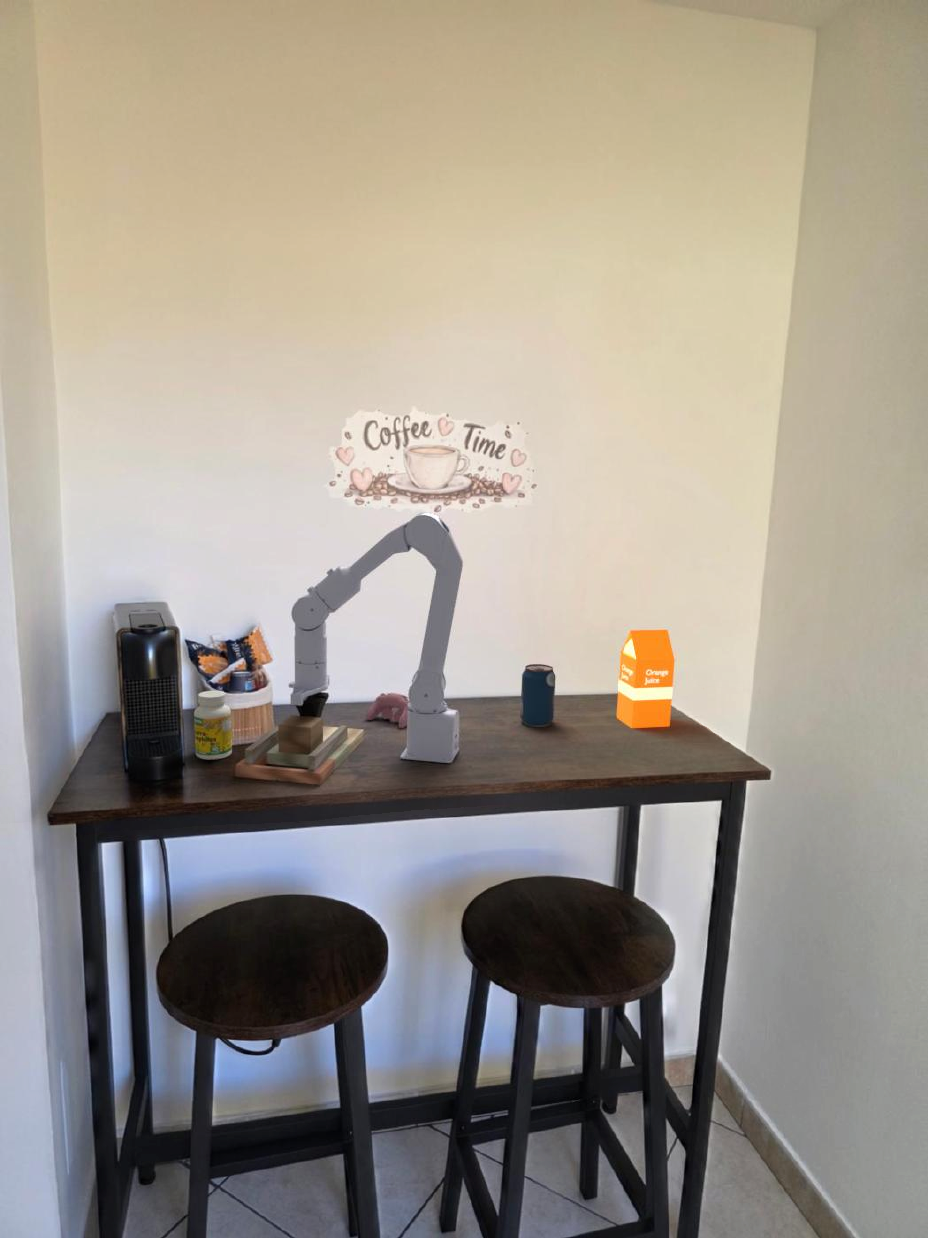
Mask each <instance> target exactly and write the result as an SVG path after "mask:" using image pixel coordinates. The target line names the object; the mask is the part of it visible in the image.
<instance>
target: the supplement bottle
mask: <svg viewBox="0 0 928 1238" xmlns="http://www.w3.org/2000/svg"><path fill="white" fill-rule="evenodd" d="M226 701H227V698H226V692H224V691H222V690H206V691H201V692H199V693H198V694H197V702H198V706H197V707H196V708H195V710H194V712H193V719H194V720H193V723H194V726H193V727H194V744H195V745H194V747H195V755H196V756H197V758H198V759H202V760H207V761H208V760H209V761H211V760H221V759H225V758H228V757H229V756H230V755H231V754H232V753H233V741H232V740H233V735H232V710H231V707H229V705H226Z"/></svg>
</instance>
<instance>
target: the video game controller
mask: <svg viewBox="0 0 928 1238" xmlns="http://www.w3.org/2000/svg"><path fill="white" fill-rule="evenodd" d="M408 703H410V701H409V697H408V696H405V694H404V695H403V694H401V693H397V692H396V693H395V692H390V693H384V692H382V693H380V695H378V696H377V697H376V699H375V700H374V701H373V703H372V704H371V706H369V708H368V709H367V712H366V721H368V720H371V721H373V720H374V719H375V718H376V717H378V715H380V714H381V717H382V719H384V720H386V719H390V720H392V719H393V720H394V721H395V722H396V723H398V728H399V729H404V728H406V727H407V709H408ZM393 709H398V710H396V711H395V713H394V710H393Z"/></svg>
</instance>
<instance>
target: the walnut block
mask: <svg viewBox="0 0 928 1238" xmlns="http://www.w3.org/2000/svg"><path fill="white" fill-rule="evenodd" d="M277 725H278V735H279V752H283V753H294V754H304V755H310V754H311V753H312V752H313V751H314V750H315V749H316V748H317V747H318V746H319V745H320V744H322V743H323V726H324V718H323V717H321V718H320V717H308V716H300V715H298V714H297V715H293V714H291V715H289V716H288V717H287V718H286V719H284V720H283V721H281V722H280V723H278V724H277Z"/></svg>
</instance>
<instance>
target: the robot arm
mask: <svg viewBox="0 0 928 1238" xmlns="http://www.w3.org/2000/svg"><path fill="white" fill-rule="evenodd" d="M412 549H414V550H415V551H416V552H418V553H419V554H421V555H422V556H424V557H425V558H426V560H427V561H428V562H429V563H430V565H431V566H432V567H433V568H434V570H435V576H434V583H433V589H432V594H431V597H430V598H431V599H430V605H429V610H428V616H427V620H426V626H425V632H424V638H423V643H422V649H421V655H420V660H419V665H418V669H417V670H416V672H415V673H414V674H413V677H412V679H411V685H410V687H409V689H408V696H407V697H408V698H409V701H410V703H408V709H407V726H406V748H405V749H404V750H403V751H402V753H401V754H400V757H399V758H400V759H402V760H412V761H422V762H435V763H446V764H452V763H453V761H454V759H455V757H457V754H458V753H459V751H460V747H459V745H460V743H459V742H460V740H459V739H460V712H459V710H457V709H451V708H449V707H448V703H447V702H446V701H445V699H444V698H445V690H446V685H447V683H446V682H447V681H446V676H445V673H444V669H445V664H446V658H447V651H448V646H449V640H450V636H451V629H452V625H453V620H454V614H455V609H456V604H457V600H458V599H457V598H458V593H459V588H460V583H461V576H462V572H463V567H464V564H463V563H464V561H463V558H462V556H461V553H460V551H459V548H458V547H457V543H456V542H455V540H454V537H453V535H452V533H451V530H450V527H449V526H448V525H447V524H446V523H445V522H444V521H443V520H442V518H440V517H439V516H438V514H436V513H433V512H432V511H431V512H429V511H425V512H424V511H423V512H420V513H418V514H417V515H415V516H414V517H412V518H411V519H410V521H409V520H408V521H406V522H404V523H402V524H401V525H399V526H398V527H396V528H394V529H393V530H391V531H390V532H388V533H387V534H386V535H384V536H383V537H382V538H381V539H380V540H379V541H378V542H377V543H375V544H374V545H373V546H372V547H371V548H370V549H369V550H368V551H366V552H365V553H364V554H363V555H362V556H361V557H359V559H357V560H356V561H354V563H352V565H351V566H344V565H339V566H338V567H336V568H334V567H331V568H329V570H327V571H326V574H327V576H325V577H324V578H323V579H322V580H321V581H320V582H318V583H317V584H316V585H315V586H314V587H313V586H310V587H308V588H307V589H306V590H307V594H305V595H303V596H302V597H300V598H298V599H297V600H296V602H295V603H293V606H292V608H291V615H290V616H291V619H292V621H293V623H294V638H293V639H294V640H293V641H294V681H290V682H289V683H288V688H291V689H292V693H291V694H290V705H291V706H295V708H296V710H297V711H298V714H299V716H308V717H320V718H322V715H323V710H324V707H325V706H326V703H327V701H328V699H329V696H330V695H329V694H330V693H328V692H325V691H327V690H328V687H329V686H330V675H329V674H328V672H327V671H328V669H327V667H328V666H327V665H328V663H327V662H328V661H327V660H328V658H327V657H328V655H327V648H328V647H327V646H328V645H327V636H328V635H327V622H326V620H327V619H328V618H329V616H330V614H333V613H335V612H336V611H338V610H339V609H340V608H341V607H342V606H343V605H345V604H346V603H347V602H349V601H350V600H351V599H352V598H353V597H355V596H356V595H357V594H358V593H360V591H361V587H362V586H361V585H362V580H363V579H365V578H366V577H367V576H368V575H369V574H371V573H372V572H373V571H375V570H376V569H377V568H378V567H380V565H382V564H383V563H384V562H386V561H387V560H389V558H391V557H392V556H393V555H395V554H401V553H409V552H410V551H411V550H412Z"/></svg>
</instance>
